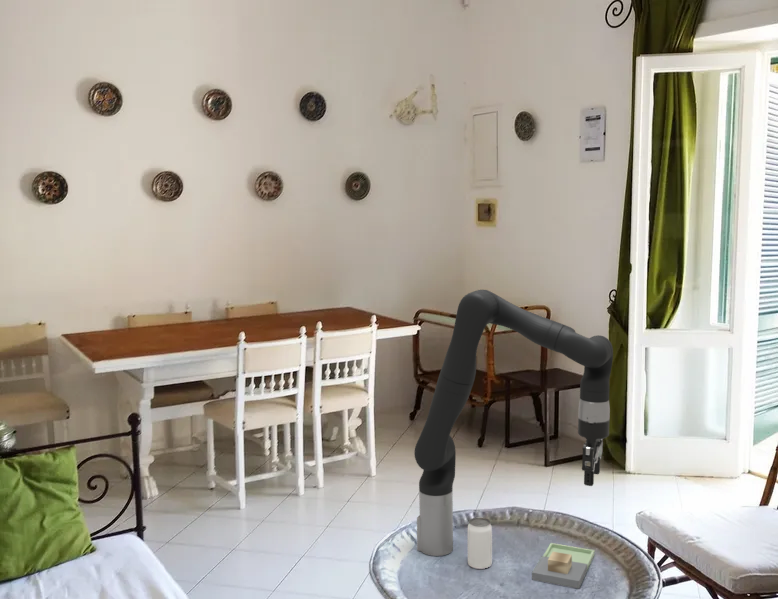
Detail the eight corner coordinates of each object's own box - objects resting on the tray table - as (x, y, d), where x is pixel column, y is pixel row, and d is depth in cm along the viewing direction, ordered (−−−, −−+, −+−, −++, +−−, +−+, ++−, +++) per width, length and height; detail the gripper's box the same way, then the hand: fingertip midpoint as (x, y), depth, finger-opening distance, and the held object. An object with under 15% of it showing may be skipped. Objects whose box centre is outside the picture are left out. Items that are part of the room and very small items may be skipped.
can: (491, 570, 214) (490, 527, 213) (466, 569, 216) (466, 525, 214) (492, 559, 221) (492, 517, 219) (468, 558, 222) (468, 515, 220)
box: (542, 562, 218) (542, 557, 218) (550, 547, 227) (550, 542, 227) (587, 570, 213) (587, 565, 213) (594, 555, 222) (594, 550, 222)
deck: (531, 579, 209) (531, 572, 209) (541, 563, 218) (541, 556, 218) (578, 588, 204) (579, 581, 204) (587, 571, 213) (587, 564, 213)
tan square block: (547, 570, 210) (547, 559, 209) (552, 562, 214) (552, 551, 214) (567, 574, 208) (567, 563, 207) (571, 565, 212) (571, 554, 212)
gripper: (584, 407, 210) (582, 468, 212) (572, 422, 197) (570, 487, 200) (614, 410, 207) (611, 472, 209) (604, 426, 194) (602, 491, 197)
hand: (591, 479), depth 205 cm, fingers open, 8 cm apart
